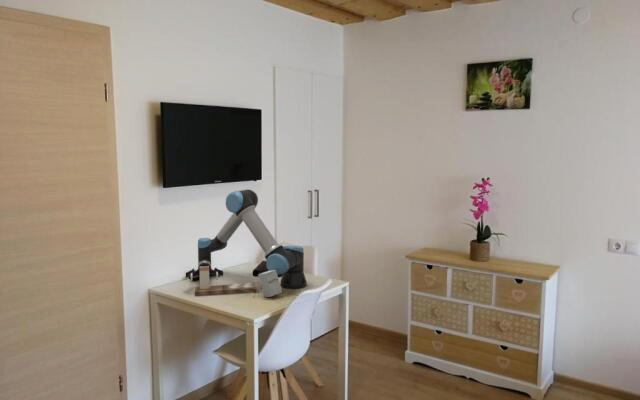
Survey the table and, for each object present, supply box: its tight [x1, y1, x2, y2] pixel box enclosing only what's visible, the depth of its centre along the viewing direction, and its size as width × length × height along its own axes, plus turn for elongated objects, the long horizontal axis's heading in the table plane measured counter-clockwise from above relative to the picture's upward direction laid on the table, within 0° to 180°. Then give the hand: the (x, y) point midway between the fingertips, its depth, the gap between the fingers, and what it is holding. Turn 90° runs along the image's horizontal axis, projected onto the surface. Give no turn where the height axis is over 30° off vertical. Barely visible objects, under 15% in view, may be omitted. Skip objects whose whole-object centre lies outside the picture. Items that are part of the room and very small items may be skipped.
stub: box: [199, 266, 210, 289], centre depth 277 cm, size 5×2×12 cm, turn 102°
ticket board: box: [194, 282, 258, 297], centre depth 281 cm, size 33×10×3 cm, turn 102°
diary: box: [251, 260, 283, 278], centre depth 325 cm, size 19×25×5 cm
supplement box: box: [257, 270, 283, 298], centre depth 271 cm, size 7×7×13 cm
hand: (204, 277), depth 274 cm, fingers open, 13 cm apart
